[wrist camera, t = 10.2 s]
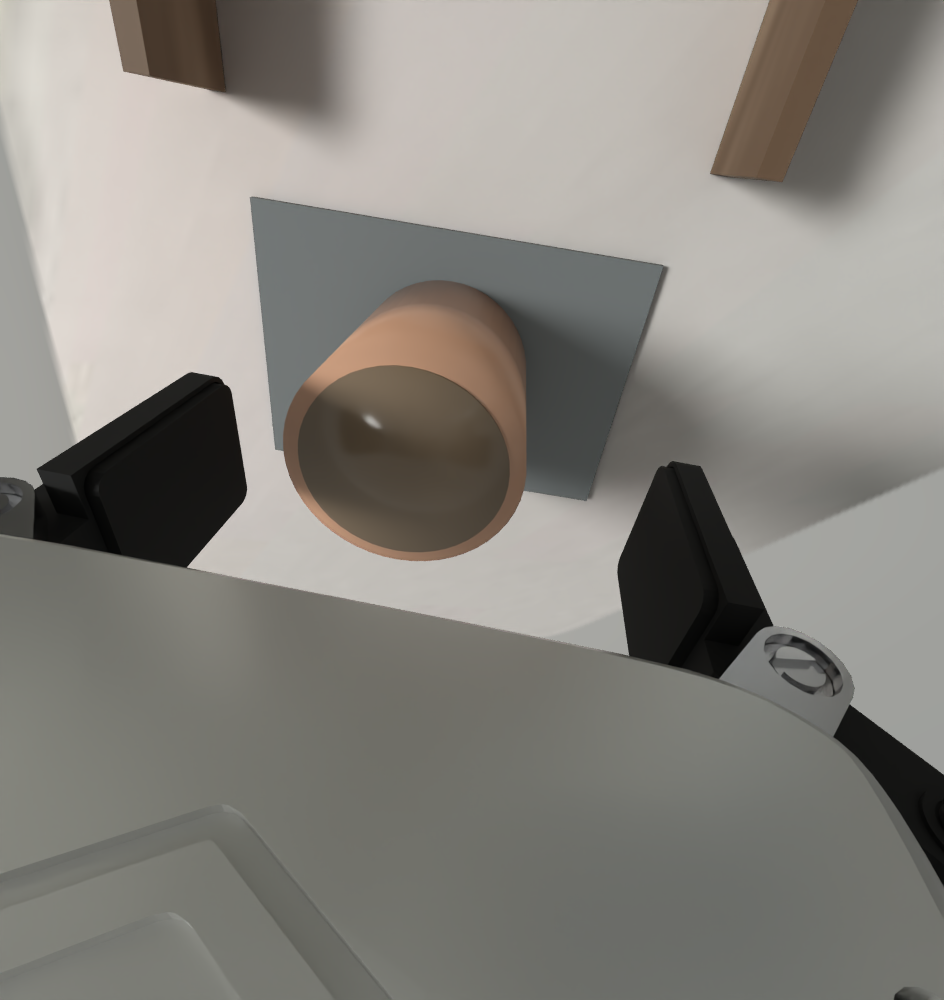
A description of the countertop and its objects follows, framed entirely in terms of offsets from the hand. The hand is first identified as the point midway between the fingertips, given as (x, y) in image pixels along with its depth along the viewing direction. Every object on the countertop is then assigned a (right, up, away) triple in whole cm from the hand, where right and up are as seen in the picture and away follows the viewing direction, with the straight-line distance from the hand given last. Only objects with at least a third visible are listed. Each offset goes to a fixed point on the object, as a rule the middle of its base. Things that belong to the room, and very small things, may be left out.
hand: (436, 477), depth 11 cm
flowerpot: (0, +4, +7) cm, 8 cm away
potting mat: (0, +4, +7) cm, 8 cm away
